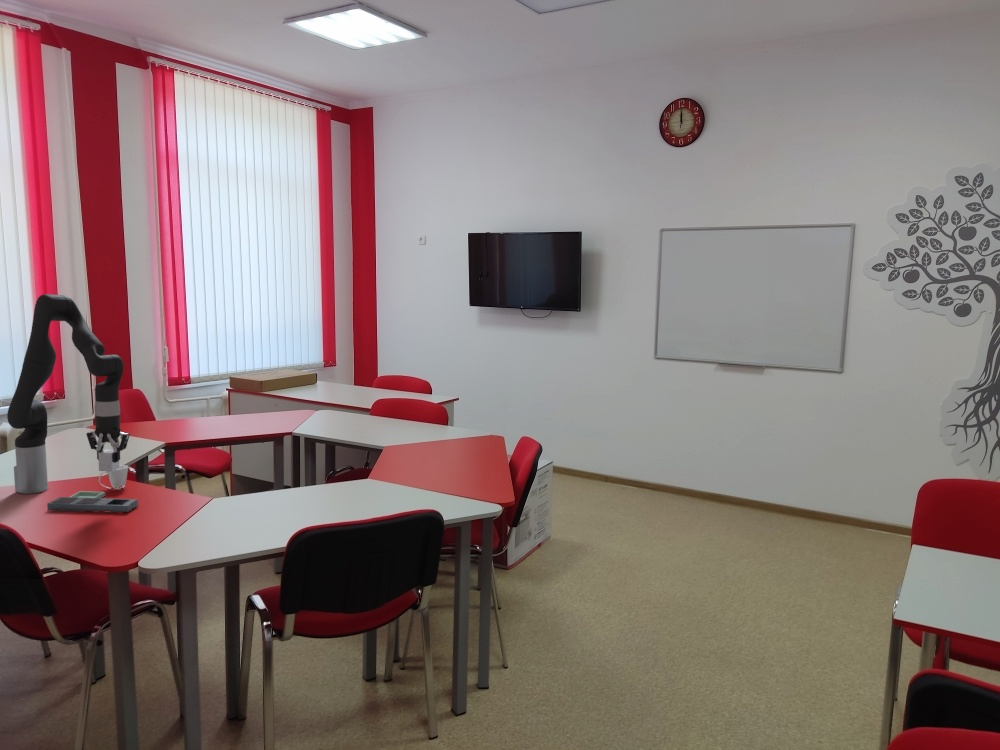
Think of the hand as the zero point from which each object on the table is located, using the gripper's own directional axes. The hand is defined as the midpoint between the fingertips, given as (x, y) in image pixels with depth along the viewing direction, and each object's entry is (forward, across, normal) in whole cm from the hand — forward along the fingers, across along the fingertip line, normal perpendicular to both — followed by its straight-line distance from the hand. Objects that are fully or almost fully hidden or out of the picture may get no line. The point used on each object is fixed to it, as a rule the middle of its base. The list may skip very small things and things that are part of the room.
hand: (108, 461), depth 239 cm
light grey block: (+3, 0, 0) cm, 3 cm away
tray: (+17, -12, +7) cm, 22 cm away
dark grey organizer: (+17, -5, -2) cm, 18 cm away
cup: (+17, -9, +20) cm, 28 cm away
